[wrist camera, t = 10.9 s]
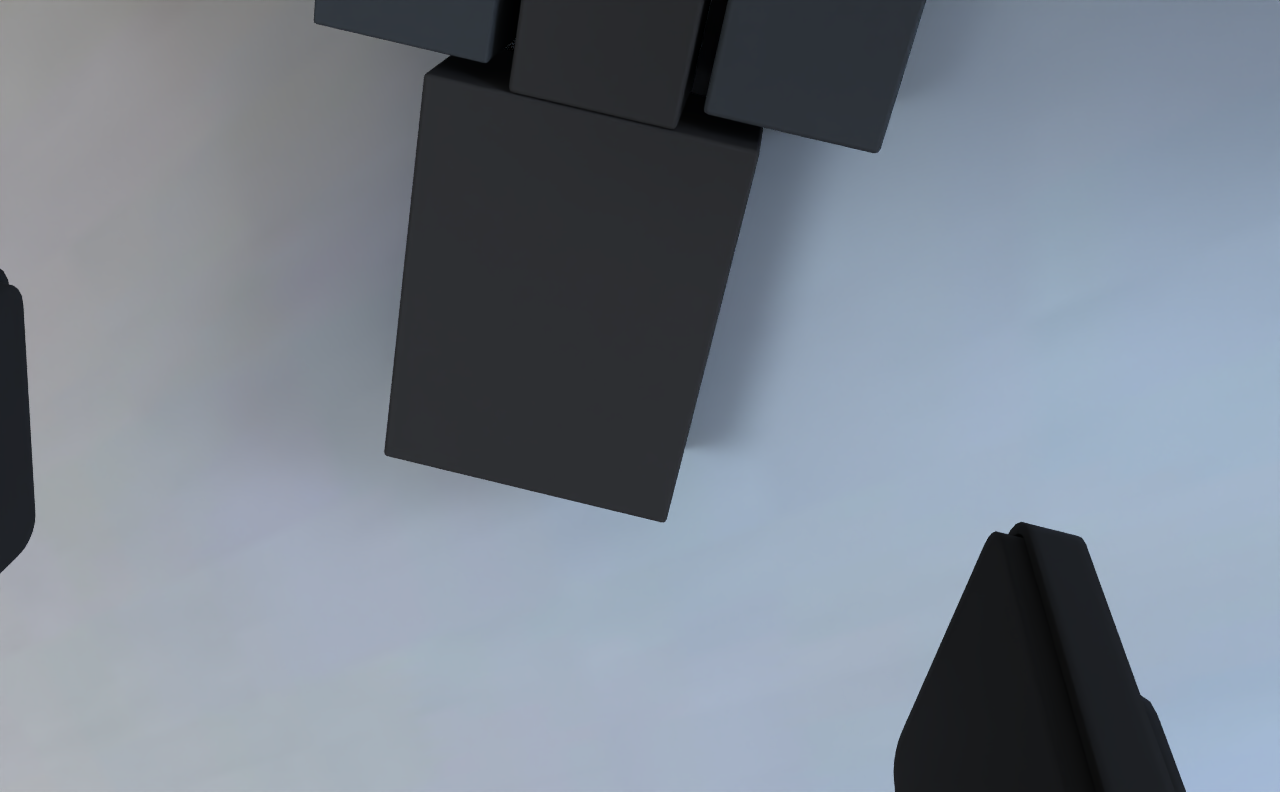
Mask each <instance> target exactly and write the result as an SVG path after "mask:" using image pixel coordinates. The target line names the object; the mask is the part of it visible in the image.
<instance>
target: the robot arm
mask: <svg viewBox="0 0 1280 792" xmlns="http://www.w3.org/2000/svg"><path fill="white" fill-rule="evenodd" d="M34 524H35V500H34V482H33V465H32V448H31V430H30V413H29V396H28V378H27V361H26V343H25V326H24V309H23V300H22V296H21V294H20V292H19V290H18V289H17V288H16V287H15V286H13V285H9V282H8V279H7V277H6V275H5V273H4V271H3V270H1V269H0V573H1V572H2V571H3V570H4V569H5V568H6V567H7V566H8V565H9V564H10V563H11V562H12V561H13V560H14V559H15V558H16V557H17V556H18V555H19V554H20V553H21V552H22V551H23V550H24V548H25V547H26V545H27V543H28V541H29V539H30V537H31V534H32V532H33V528H34ZM894 785H895V792H1186V790H1185V788H1184V785H1183V782H1182V779H1181V777H1180V774H1179V771H1178V769H1177V766H1176V763H1175V761H1174V758H1173V755H1172V753H1171V750H1170V747H1169V744H1168V742H1167V739H1166V736H1165V734H1164V731H1163V728H1162V726H1161V723H1160V720H1159V718H1158V715H1157V713H1156V711H1155V710H1154V708H1153V706H1152V704H1151V702H1150V701H1148V700H1147V699H1145V698H1144V697H1143V696H1141V695H1140V693H1139V690H1138V687H1137V684H1136V682H1135V679H1134V676H1133V673H1132V670H1131V668H1130V665H1129V662H1128V659H1127V657H1126V654H1125V651H1124V648H1123V646H1122V643H1121V640H1120V637H1119V634H1118V632H1117V629H1116V626H1115V623H1114V621H1113V618H1112V615H1111V612H1110V610H1109V607H1108V604H1107V601H1106V598H1105V596H1104V593H1103V590H1102V587H1101V585H1100V582H1099V579H1098V576H1097V574H1096V571H1095V568H1094V565H1093V562H1092V560H1091V557H1090V554H1089V551H1088V549H1087V546H1086V544H1085V542H1084V540H1083V539H1082V538H1081V537H1079V536H1076V535H1072V534H1068V533H1064V532H1060V531H1056V530H1052V529H1048V528H1044V527H1040V526H1036V525H1032V524H1028V523H1024V522H1020V523H1017V524H1016V525H1015V526H1014V527H1013V528H1012V529H1011V530H1010V532H1009V534H1004V533H1000V532H996V531H995V532H993V533H992V534H991V535H990V536H989V537H988V539H987V541H986V543H985V545H984V547H983V549H982V551H981V554H980V556H979V558H978V560H977V563H976V565H975V567H974V569H973V572H972V574H971V576H970V579H969V581H968V583H967V585H966V588H965V590H964V592H963V594H962V597H961V599H960V601H959V603H958V606H957V608H956V610H955V613H954V615H953V617H952V619H951V622H950V624H949V626H948V628H947V631H946V633H945V635H944V637H943V640H942V642H941V644H940V647H939V649H938V651H937V653H936V656H935V658H934V660H933V662H932V665H931V667H930V669H929V671H928V674H927V676H926V678H925V681H924V683H923V685H922V687H921V690H920V692H919V694H918V696H917V699H916V701H915V703H914V705H913V708H912V710H911V712H910V715H909V717H908V719H907V721H906V724H905V726H904V728H903V730H902V733H901V735H900V738H899V741H898V745H897V749H896V754H895V760H894Z"/></svg>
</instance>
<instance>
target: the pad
mask: <svg viewBox="0 0 1280 792" xmlns="http://www.w3.org/2000/svg"><path fill="white" fill-rule="evenodd" d="M710 4H711V0H521V5H520V12H519V19H518V26H517V33H516V40H515V47H514V52H512V51H508V50H501V51H500V52H499V53H498V54H497V55H495V56H494V57H493V58H492V59H491V60H489V61H488V62H487V63H482V62H478V61H474V60H469V59H465V58H461V57H457V56H452V55H451V56H449V57H448V58H447V59H445V60H444V61H442V62H441V63H440V64H438V65H437V66H436V67H434V68H433V69H432V70H430V71H429V72H427V73H426V74H425V76H424V83H423V92H422V102H421V111H420V120H419V130H418V139H417V149H416V158H415V168H414V177H413V186H412V196H411V205H410V215H409V224H408V234H407V243H406V252H405V262H404V271H403V281H402V290H401V300H400V309H399V318H398V328H397V337H396V347H395V356H394V366H393V375H392V384H391V394H390V403H389V413H388V422H387V432H386V441H385V450H384V452H385V455H386V456H390V457H394V458H398V459H402V460H406V461H410V462H414V463H418V464H423V465H427V466H431V467H435V468H439V469H443V470H447V471H452V472H456V473H460V474H464V475H468V476H472V477H476V478H481V479H485V480H489V481H493V482H497V483H501V484H505V485H509V486H514V487H518V488H522V489H526V490H530V491H534V492H538V493H543V494H547V495H551V496H555V497H559V498H563V499H567V500H571V501H576V502H580V503H584V504H588V505H592V506H596V507H600V508H605V509H609V510H613V511H617V512H621V513H625V514H629V515H633V516H638V517H642V518H646V519H650V520H654V521H658V522H665V521H666V520H667V516H668V512H669V508H670V504H671V500H672V496H673V492H674V488H675V484H676V480H677V476H678V472H679V469H680V465H681V461H682V457H683V453H684V449H685V445H686V441H687V437H688V433H689V429H690V425H691V421H692V417H693V413H694V409H695V405H696V402H697V398H698V394H699V390H700V386H701V382H702V378H703V374H704V370H705V366H706V362H707V358H708V354H709V350H710V346H711V342H712V338H713V335H714V331H715V327H716V323H717V319H718V315H719V311H720V307H721V303H722V299H723V295H724V291H725V287H726V283H727V279H728V275H729V271H730V268H731V264H732V260H733V256H734V252H735V248H736V244H737V240H738V236H739V232H740V228H741V224H742V220H743V216H744V212H745V208H746V204H747V201H748V197H749V193H750V189H751V185H752V181H753V177H754V173H755V169H756V165H757V161H758V157H759V152H760V145H761V139H762V132H763V127H759V126H755V125H751V124H747V123H742V122H738V121H734V120H729V119H725V118H721V117H717V116H712V115H708V114H707V113H705V112H704V105H705V101H706V97H705V96H701V95H697V94H692V93H690V92H691V90H692V86H693V82H694V77H695V73H696V68H697V63H698V59H699V54H700V50H701V45H702V41H703V36H704V31H705V27H706V22H707V18H708V13H709V8H710Z"/></svg>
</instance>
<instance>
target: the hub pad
mask: <svg viewBox="0 0 1280 792" xmlns="http://www.w3.org/2000/svg"><path fill="white" fill-rule="evenodd" d="M925 2H926V0H728V3H727V8H726V12H725V17H724V21H723V25H722V30H721V34H720V39H719V43H718V48H717V52H716V56H715V61H714V65H713V70H712V74H711V79H710V83H709V87H708V92H707V96H706V101H705V105H704V112H705V113H707V114H708V115H712V116H717V117H721V118H725V119H729V120H734V121H738V122H742V123H747V124H751V125H755V126H759V127H764V128H768V129H772V130H777V131H781V132H785V133H789V134H794V135H798V136H802V137H807V138H811V139H815V140H819V141H824V142H828V143H832V144H837V145H841V146H845V147H849V148H854V149H858V150H862V151H867V152H871V153H878V152H879V150H880V149H881V146H882V143H883V140H884V136H885V133H886V130H887V126H888V123H889V120H890V117H891V113H892V110H893V107H894V104H895V100H896V97H897V94H898V90H899V87H900V84H901V81H902V77H903V74H904V71H905V68H906V64H907V61H908V58H909V54H910V51H911V48H912V45H913V41H914V38H915V35H916V32H917V28H918V25H919V22H920V19H921V15H922V12H923V9H924V5H925ZM520 5H521V0H315V10H314V23H316V24H319V25H324V26H328V27H332V28H337V29H341V30H345V31H349V32H354V33H358V34H362V35H367V36H371V37H375V38H379V39H384V40H388V41H392V42H397V43H401V44H405V45H409V46H414V47H418V48H422V49H427V50H431V51H435V52H439V53H444V54H448V55H452V56H457V57H461V58H465V59H469V60H474V61H478V62H482V63H487V62H488V61H489V60H491V59H492V58H493V57H494V56H495V55H497V54H498V53H499V52H500V51H501V50H503V49H504V48H505V47H506V46H507V45H509V44H510V43H511V42H512V41H513V40H514V39H516V33H517V26H518V19H519V12H520Z"/></svg>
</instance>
